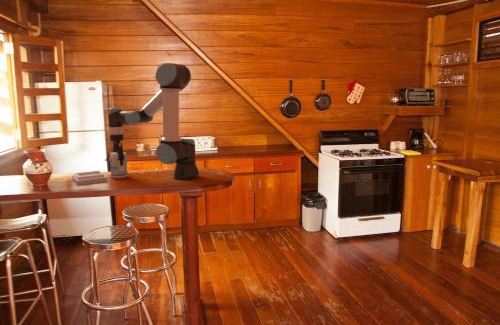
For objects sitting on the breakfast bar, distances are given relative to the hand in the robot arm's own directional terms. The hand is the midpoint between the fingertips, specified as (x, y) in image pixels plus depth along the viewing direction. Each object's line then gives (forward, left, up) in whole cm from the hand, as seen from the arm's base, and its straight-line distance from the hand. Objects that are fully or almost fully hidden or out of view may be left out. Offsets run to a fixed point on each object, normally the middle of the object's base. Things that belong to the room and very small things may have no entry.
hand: (119, 169), depth 235 cm
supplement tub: (0, 0, -5) cm, 5 cm away
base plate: (0, +17, -5) cm, 18 cm away
